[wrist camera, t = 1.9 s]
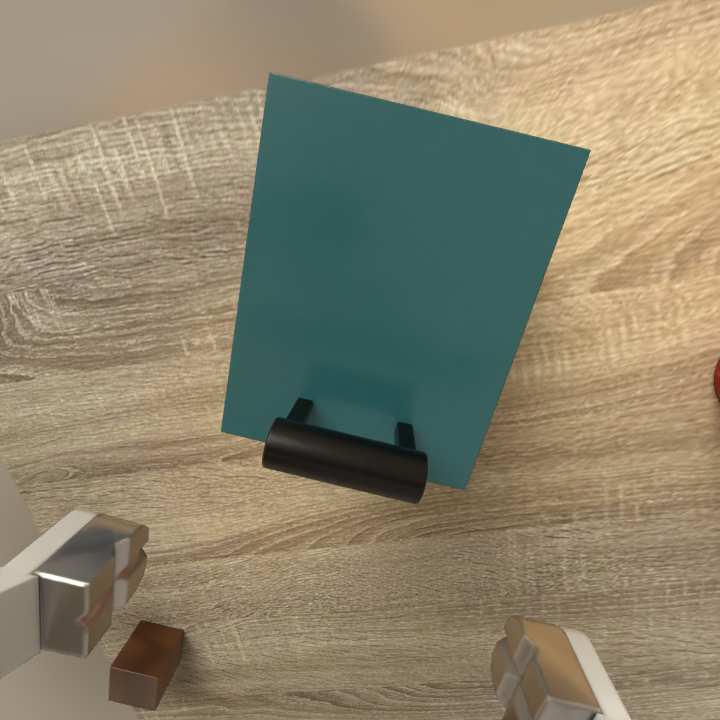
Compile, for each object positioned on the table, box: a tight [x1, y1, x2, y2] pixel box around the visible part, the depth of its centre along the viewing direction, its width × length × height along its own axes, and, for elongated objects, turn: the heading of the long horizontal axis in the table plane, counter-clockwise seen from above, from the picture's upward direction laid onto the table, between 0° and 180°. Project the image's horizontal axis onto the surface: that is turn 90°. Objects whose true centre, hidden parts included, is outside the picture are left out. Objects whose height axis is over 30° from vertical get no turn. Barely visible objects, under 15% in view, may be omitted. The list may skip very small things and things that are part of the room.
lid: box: [221, 72, 591, 504], centre depth 13 cm, size 14×12×5 cm
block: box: [109, 620, 184, 711], centre depth 36 cm, size 4×4×4 cm
